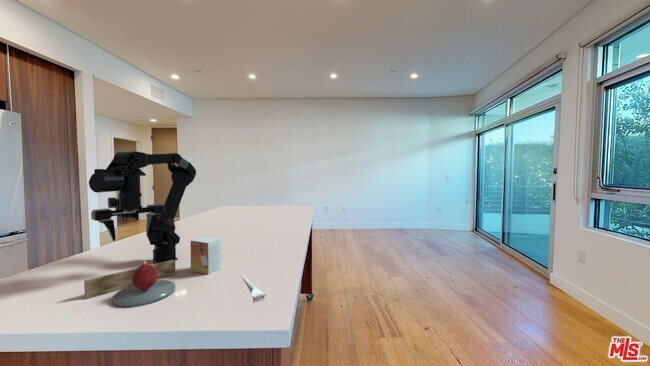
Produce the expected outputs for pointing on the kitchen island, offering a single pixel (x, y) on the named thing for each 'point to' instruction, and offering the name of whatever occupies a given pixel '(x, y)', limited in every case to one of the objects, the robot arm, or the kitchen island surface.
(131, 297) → the slate plate
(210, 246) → the small box
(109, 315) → the kitchen island surface
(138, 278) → the onion
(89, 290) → the walnut screen
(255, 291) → the fork
